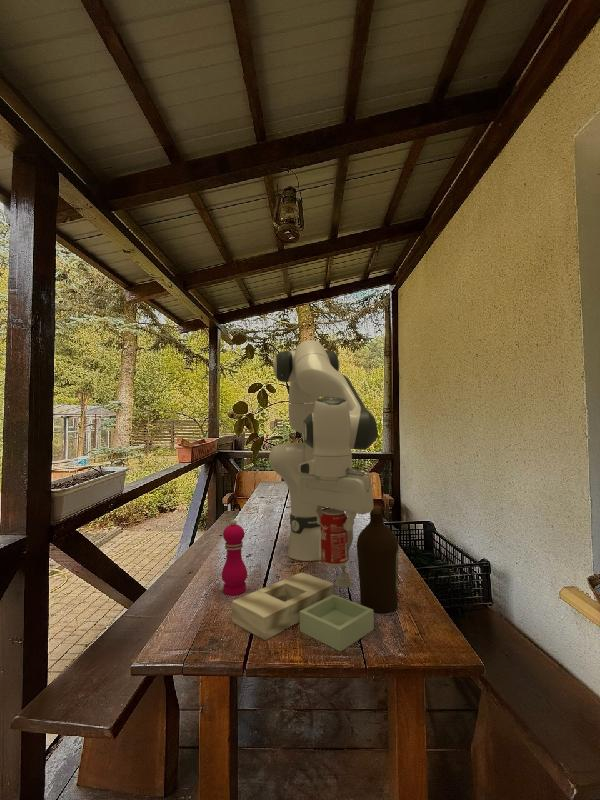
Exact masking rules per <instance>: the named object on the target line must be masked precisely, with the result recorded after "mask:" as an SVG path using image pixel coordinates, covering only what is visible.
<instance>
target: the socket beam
mask: <svg viewBox="0 0 600 800" xmlns="http://www.w3.org/2000/svg"><path fill="white" fill-rule="evenodd" d="M335 586H336V585H335V583H333V582H330V581H328V580H325V579H322V578H319V577H316V576H314V575H311V574H308V573H305V572H299V573H296V574H294V575H292V576H289V577H287V578H285V579H283V580H280V581H277V582H274V583H273V584H269V585H267V586H265V587H263V588H259V589H258V590H255V591H253V592H251V593H247V594H246V595H243V596H241V597H237V598H236V599H234V600H232V601H231V609H232V610H231V613H232V614H231V616H232V618H231V619H232V620H231V621H232V623H233V624H235V625H237V626H239V627H241V628H242V629H244V630H246V631H248V632H249V633H251V634H253V635H254V636H256V637H258V638H260V639H261V640H263V641H267V640H268V639H271V638H273V637H274V636H276V635H278V634H280V633H282V632H284V631H285V629H286V630H287V629H289V628H291V627H293V626H295V625H296V624H298V623H299V624H300V611H301V610H303V609H305V608H307V607H309V606H311V605H313V604H315V603H317V602H319V601H321V600H323V599H325V598H327V597H329V596H331V595H333V594H334V595H336V591H335V590H336V588H335ZM294 624H295V625H294ZM292 625H293V626H292ZM290 626H291V627H290Z"/></svg>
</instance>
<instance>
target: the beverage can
mask: <svg viewBox="0 0 600 800" xmlns="http://www.w3.org/2000/svg"><path fill="white" fill-rule="evenodd" d="M322 512H323V514H322V515H321V517H320V526H321V559H322V560H321V561H322V562H323V563H324V564H325V565H326V566H327V567H330V568H341V566H344V565H345V566H346V564H347V563H348V562H349V560H350V553H349V552H350V551H349V550H350V549H349V546H348V531H345V530H343V526H342V523H343V522H346V520H347V517H348V516H346V511H342V510H337V509H332V508H326V509H324V510H323V509H322Z"/></svg>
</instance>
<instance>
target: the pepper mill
mask: <svg viewBox="0 0 600 800" xmlns="http://www.w3.org/2000/svg"><path fill="white" fill-rule="evenodd" d="M229 523H230V524H229V525H227V526H226V527H225V528H224V530H223V533H222V538H223V540H224V541H225V543H224V545H225V546H224V548H225V550H226V559H225V563H224V565H223V568H222V570H221V571H222V572H221V579H222V582H223V583H224V584H223V593H224V594H225V595H226V596H227V595H228V596H238V595H241V594H243V593H245V592H246V590H247V582H246V580H247V578H248V570H247V567H246V565H245V562H244V559H243V557H242V549H243V547H244V545H243V543H244V541H243V539H244V538H245V530H244V528H243V527H242V526H241V525H240V524H238V522H237V520H236V519H231V520H230V522H229Z"/></svg>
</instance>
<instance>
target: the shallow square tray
mask: <svg viewBox="0 0 600 800" xmlns="http://www.w3.org/2000/svg"><path fill="white" fill-rule="evenodd" d="M374 618H375V617H374V612H373V609H370V608H368V607H365V606H363V605H361V603H357V602H354V601H351V600H349V599H347V598H344V597H341V596H339V595H336V594H335V595H334V594H333V595H331V596H329V597H327V598H325V599H323V600H321V601H319V602H317V603H315V604H313V605H311V606H309V607H307V608H305V609H303V610H301V611H300V622H299V632H301V633H303V634H304V635H306V636H308V637H310V638H313V639H314V640H317V641H319V642H320V643H323V644H324V645H326V646H329V647H330V648H333V649H335V651H336V650H337V651H339V652H342V651H344V650H346V649H347V648H348V647H350V646H351V645H353V644H354V643H356V642H357V641H359V640H360V639H362V638H363V637H365V636H367V635H368V634H369V633H370V631H371V632H373V631H374V630H373V629H375V624H374V622H375V621H374ZM367 633H368V634H367Z"/></svg>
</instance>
